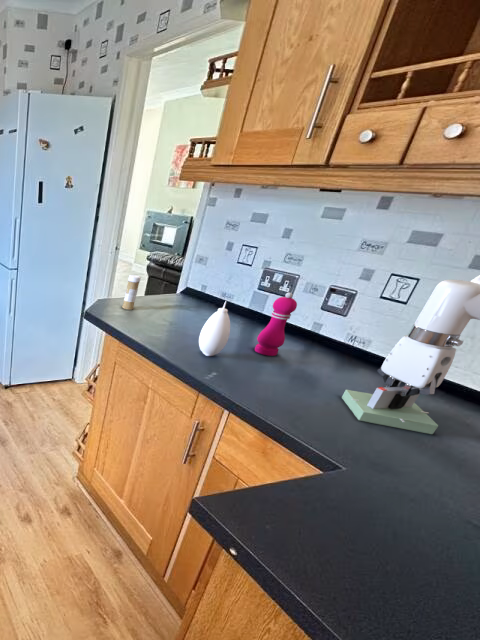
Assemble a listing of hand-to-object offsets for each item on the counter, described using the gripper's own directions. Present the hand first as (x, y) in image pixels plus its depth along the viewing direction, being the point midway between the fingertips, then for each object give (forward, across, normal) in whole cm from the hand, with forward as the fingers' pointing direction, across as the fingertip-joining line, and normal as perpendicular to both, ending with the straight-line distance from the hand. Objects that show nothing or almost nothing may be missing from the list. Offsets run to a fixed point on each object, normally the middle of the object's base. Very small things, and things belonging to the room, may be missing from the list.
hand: (389, 405), depth 102 cm
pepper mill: (+3, +38, +2) cm, 38 cm away
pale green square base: (+3, 0, 0) cm, 3 cm away
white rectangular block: (0, 0, 0) cm, 0 cm away
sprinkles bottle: (+3, +83, +27) cm, 88 cm away
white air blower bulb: (+3, +37, +23) cm, 44 cm away
